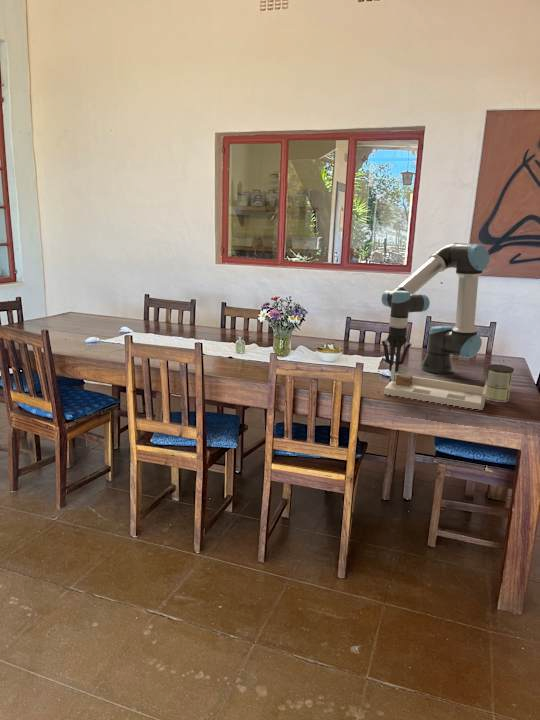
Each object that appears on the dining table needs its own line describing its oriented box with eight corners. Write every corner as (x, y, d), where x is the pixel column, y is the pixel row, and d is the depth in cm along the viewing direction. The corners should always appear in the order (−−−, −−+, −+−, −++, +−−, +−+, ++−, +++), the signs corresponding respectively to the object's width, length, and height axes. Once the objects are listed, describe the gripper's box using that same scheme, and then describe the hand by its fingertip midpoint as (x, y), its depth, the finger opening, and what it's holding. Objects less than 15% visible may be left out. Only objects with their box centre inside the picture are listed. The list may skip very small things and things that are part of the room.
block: (397, 381, 235) (398, 373, 234) (411, 384, 233) (412, 375, 232) (395, 384, 231) (396, 375, 230) (409, 386, 228) (410, 378, 227)
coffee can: (479, 394, 232) (483, 363, 228) (502, 395, 232) (506, 364, 229) (489, 402, 222) (494, 370, 218) (513, 402, 222) (518, 370, 219)
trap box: (391, 386, 239) (393, 371, 237) (485, 401, 223) (487, 385, 221) (384, 394, 226) (385, 379, 224) (482, 411, 210) (485, 394, 208)
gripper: (381, 326, 227) (376, 378, 233) (411, 329, 222) (405, 382, 227) (385, 323, 234) (380, 374, 239) (414, 327, 228) (409, 378, 234)
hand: (392, 378), depth 233 cm, fingers closed
